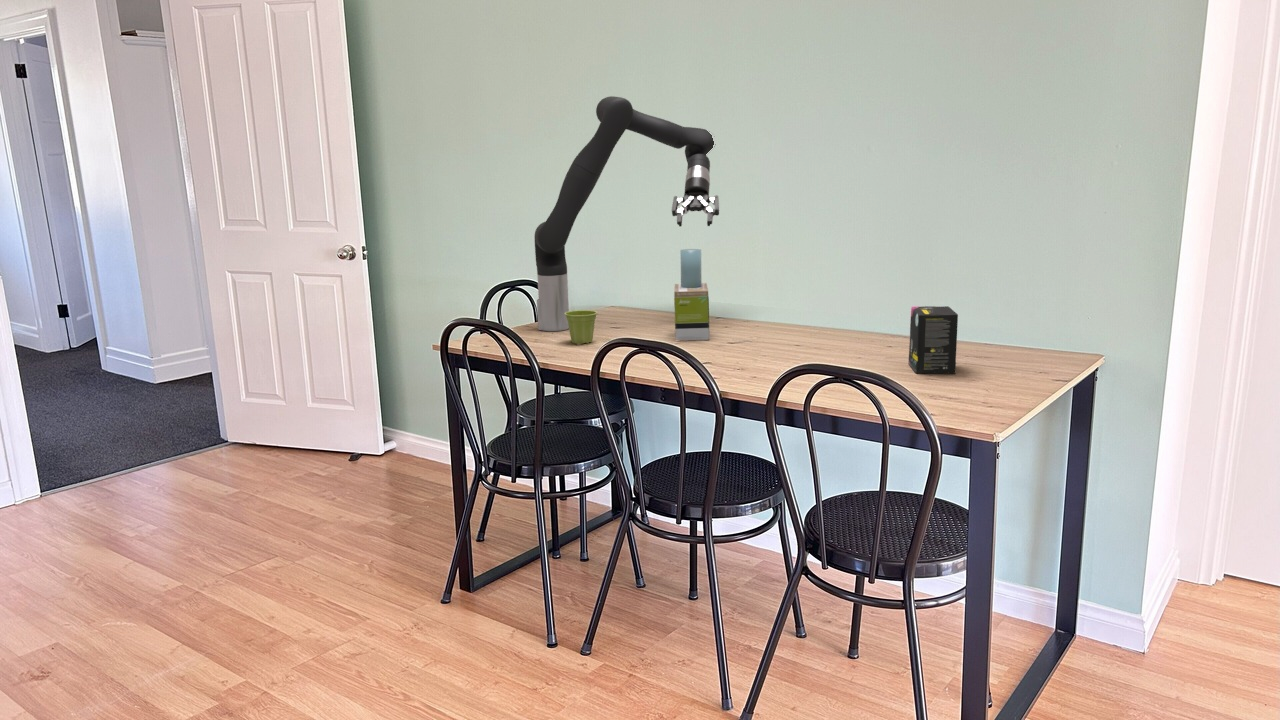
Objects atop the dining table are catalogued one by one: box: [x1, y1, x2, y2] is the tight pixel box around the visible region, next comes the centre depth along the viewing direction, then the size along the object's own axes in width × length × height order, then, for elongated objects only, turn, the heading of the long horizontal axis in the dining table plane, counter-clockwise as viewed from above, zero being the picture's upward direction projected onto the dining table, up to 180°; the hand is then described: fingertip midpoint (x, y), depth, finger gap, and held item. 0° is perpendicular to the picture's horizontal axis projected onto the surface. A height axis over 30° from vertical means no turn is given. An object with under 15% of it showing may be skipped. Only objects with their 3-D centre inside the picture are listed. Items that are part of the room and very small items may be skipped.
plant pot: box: [565, 309, 598, 345], centre depth 265 cm, size 9×9×9 cm
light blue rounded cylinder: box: [680, 248, 703, 288], centre depth 266 cm, size 6×6×10 cm
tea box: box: [673, 282, 710, 341], centre depth 269 cm, size 15×10×15 cm
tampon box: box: [908, 305, 959, 375], centre depth 221 cm, size 11×9×15 cm
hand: (694, 224), depth 275 cm, fingers open, 8 cm apart
